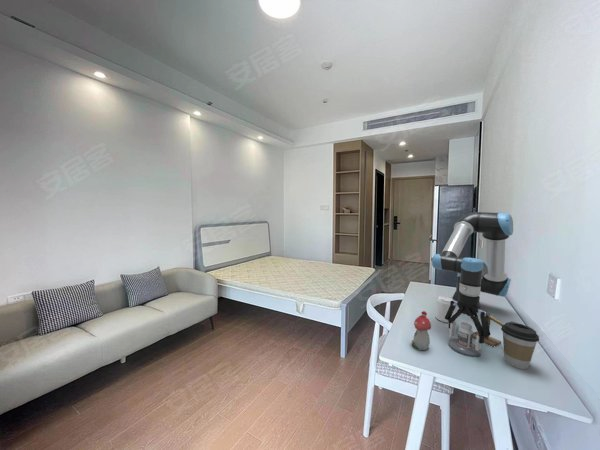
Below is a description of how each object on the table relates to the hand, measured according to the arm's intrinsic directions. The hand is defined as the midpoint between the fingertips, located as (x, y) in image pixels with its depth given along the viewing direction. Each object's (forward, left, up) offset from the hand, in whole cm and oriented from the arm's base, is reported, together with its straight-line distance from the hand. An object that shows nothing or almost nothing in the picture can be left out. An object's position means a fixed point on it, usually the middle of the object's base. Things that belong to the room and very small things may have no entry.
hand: (464, 342), depth 106 cm
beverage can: (-19, -21, -3) cm, 28 cm away
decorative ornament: (+17, -9, -3) cm, 19 cm away
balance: (-17, 0, -3) cm, 17 cm away
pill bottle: (0, 0, -2) cm, 2 cm away
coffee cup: (-9, +15, -3) cm, 18 cm away
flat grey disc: (0, 0, -3) cm, 3 cm away
